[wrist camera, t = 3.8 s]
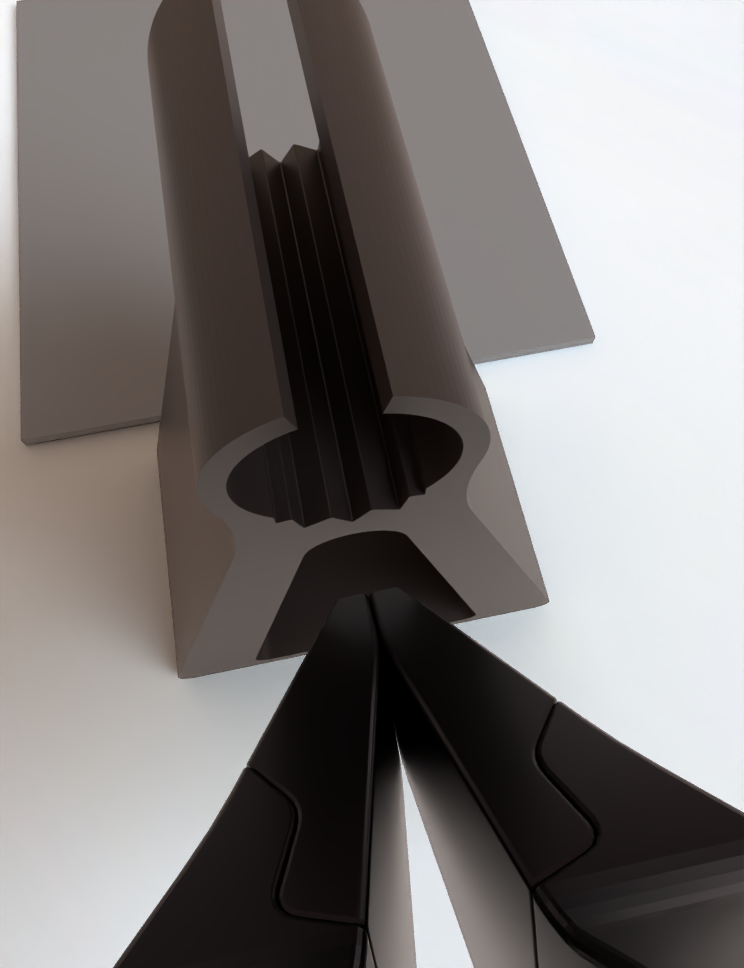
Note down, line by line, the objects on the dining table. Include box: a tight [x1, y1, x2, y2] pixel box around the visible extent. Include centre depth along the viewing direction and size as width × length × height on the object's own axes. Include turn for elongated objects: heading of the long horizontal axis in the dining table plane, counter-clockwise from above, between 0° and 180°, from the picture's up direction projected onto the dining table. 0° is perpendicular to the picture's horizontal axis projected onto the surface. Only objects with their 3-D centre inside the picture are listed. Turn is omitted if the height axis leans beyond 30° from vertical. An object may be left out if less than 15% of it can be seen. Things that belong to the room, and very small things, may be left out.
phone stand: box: [147, 0, 549, 679], centre depth 12 cm, size 9×6×12 cm, turn 101°
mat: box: [17, 0, 595, 445], centre depth 23 cm, size 18×16×1 cm
